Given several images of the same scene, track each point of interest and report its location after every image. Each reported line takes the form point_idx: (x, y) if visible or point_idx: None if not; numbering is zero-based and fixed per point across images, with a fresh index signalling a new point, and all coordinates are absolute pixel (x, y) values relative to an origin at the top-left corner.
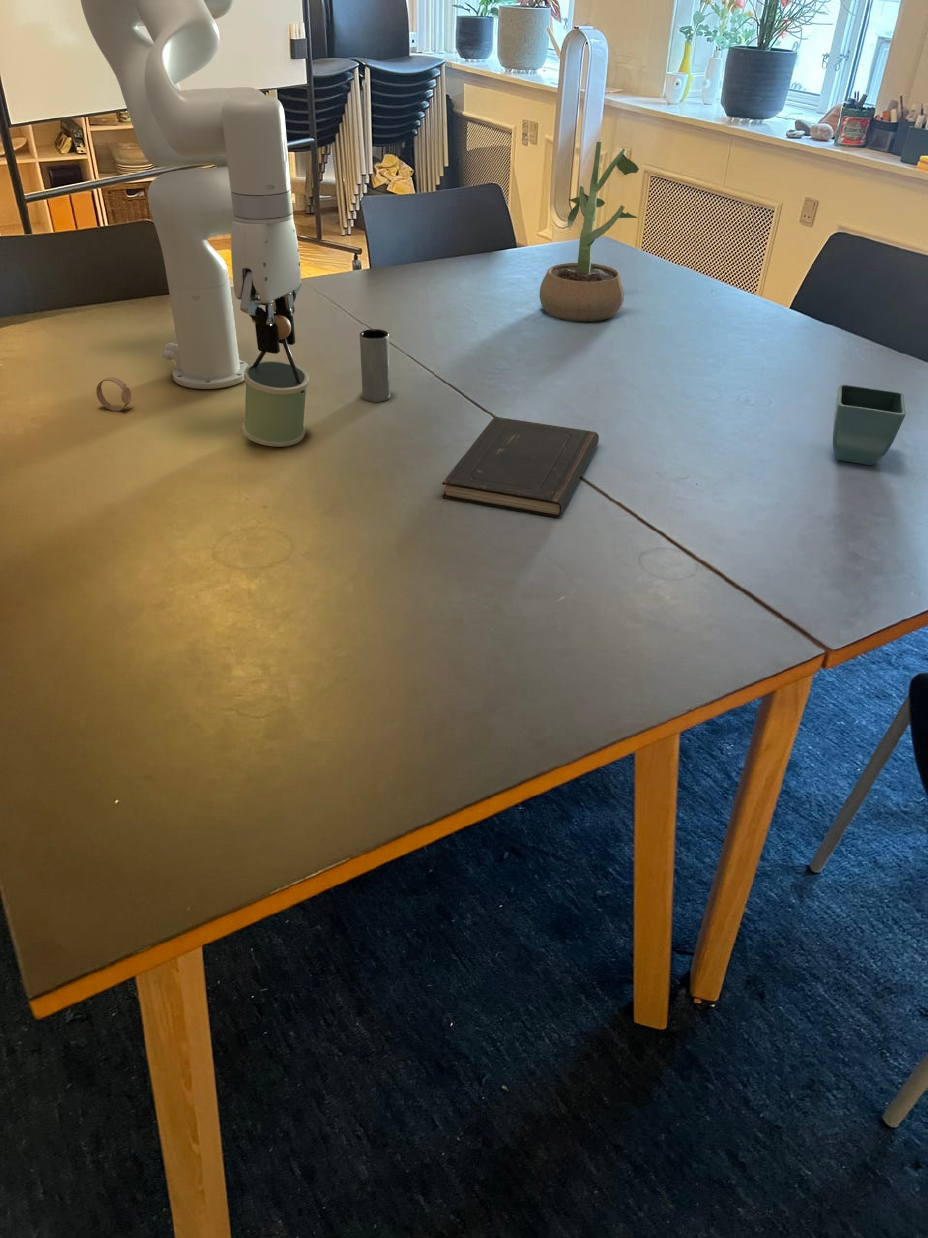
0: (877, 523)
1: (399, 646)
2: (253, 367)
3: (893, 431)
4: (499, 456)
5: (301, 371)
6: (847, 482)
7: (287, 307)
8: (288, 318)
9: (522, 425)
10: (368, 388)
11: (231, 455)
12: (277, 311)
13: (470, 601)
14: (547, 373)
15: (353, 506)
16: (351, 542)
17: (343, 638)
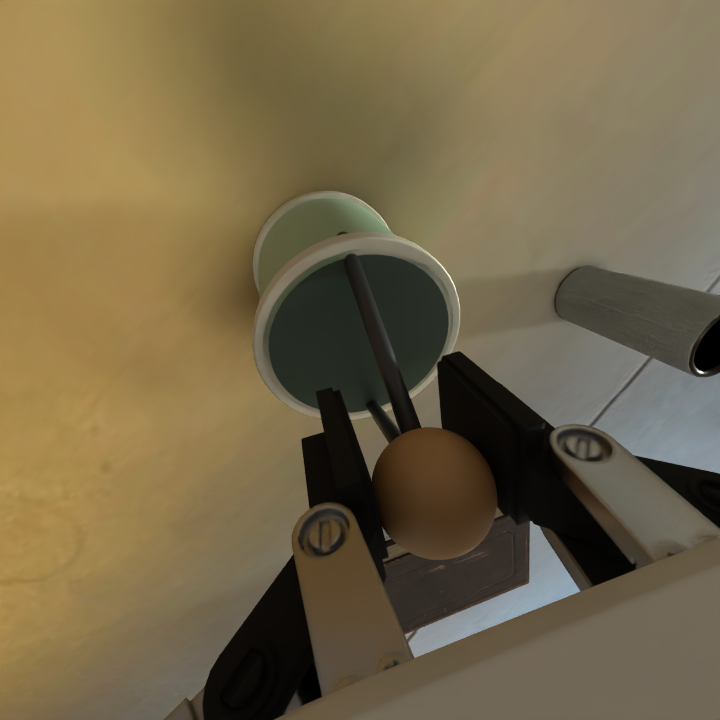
0: None
1: (55, 710)
2: (340, 268)
3: None
4: (423, 576)
5: (434, 363)
6: None
7: (559, 548)
8: (504, 510)
9: (516, 540)
10: (575, 306)
11: (186, 263)
12: (534, 479)
13: (171, 686)
14: (712, 422)
15: (222, 531)
16: (150, 586)
17: (6, 693)
